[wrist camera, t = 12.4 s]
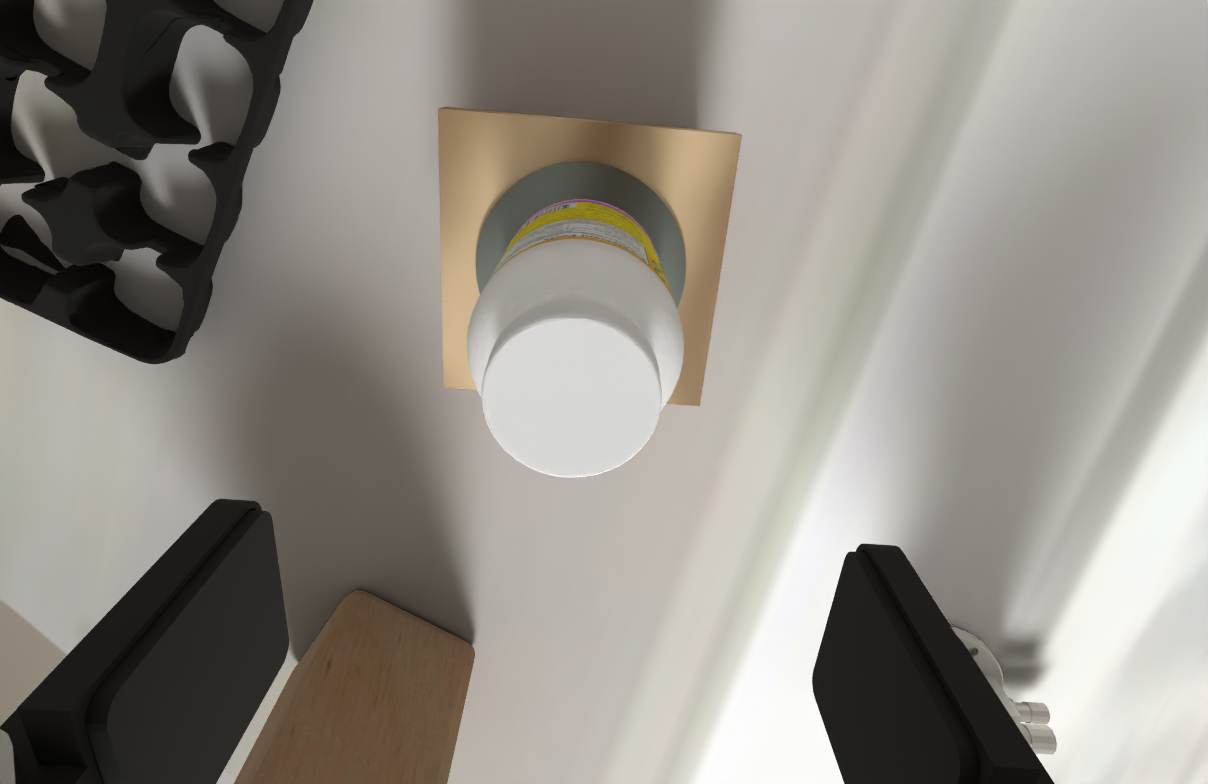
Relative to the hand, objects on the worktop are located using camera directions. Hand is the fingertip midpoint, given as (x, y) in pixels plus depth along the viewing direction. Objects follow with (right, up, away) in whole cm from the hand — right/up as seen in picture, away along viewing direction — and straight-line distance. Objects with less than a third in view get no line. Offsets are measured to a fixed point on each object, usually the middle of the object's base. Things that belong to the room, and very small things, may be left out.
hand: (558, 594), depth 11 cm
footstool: (0, +12, +25) cm, 28 cm away
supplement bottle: (0, +8, +18) cm, 20 cm away
